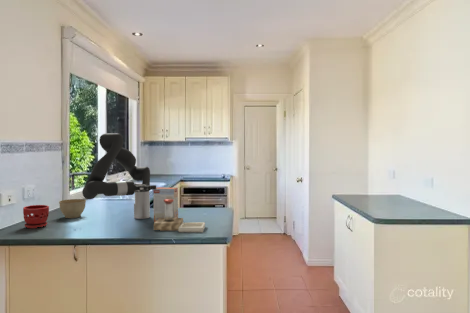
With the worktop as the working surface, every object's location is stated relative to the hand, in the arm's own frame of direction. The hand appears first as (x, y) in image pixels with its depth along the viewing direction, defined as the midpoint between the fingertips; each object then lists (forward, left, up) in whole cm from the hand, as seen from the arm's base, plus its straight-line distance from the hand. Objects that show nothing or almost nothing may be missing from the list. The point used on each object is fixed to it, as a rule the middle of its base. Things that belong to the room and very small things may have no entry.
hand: (152, 186), depth 194 cm
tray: (+22, +2, -24) cm, 32 cm away
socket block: (+8, +7, -24) cm, 26 cm away
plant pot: (-70, +10, -24) cm, 75 cm away
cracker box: (+3, +23, -24) cm, 33 cm away
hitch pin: (+8, +7, -24) cm, 26 cm away
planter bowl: (-62, +38, -24) cm, 77 cm away
